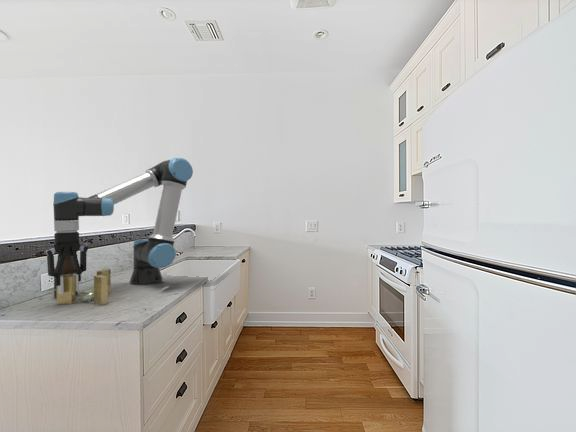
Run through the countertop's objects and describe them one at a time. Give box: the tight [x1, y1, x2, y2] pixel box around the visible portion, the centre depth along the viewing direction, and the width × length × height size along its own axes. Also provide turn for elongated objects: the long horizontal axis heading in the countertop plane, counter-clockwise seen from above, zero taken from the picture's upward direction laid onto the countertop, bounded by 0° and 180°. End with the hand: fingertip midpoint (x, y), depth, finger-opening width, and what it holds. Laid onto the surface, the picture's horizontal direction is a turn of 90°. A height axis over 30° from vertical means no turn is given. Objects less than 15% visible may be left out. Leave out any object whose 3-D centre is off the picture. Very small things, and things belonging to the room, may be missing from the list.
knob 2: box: [96, 268, 112, 295], centre depth 120 cm, size 6×2×10 cm, turn 179°
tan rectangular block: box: [56, 275, 77, 305], centre depth 109 cm, size 6×2×10 cm, turn 92°
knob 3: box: [93, 274, 109, 306], centre depth 109 cm, size 6×2×10 cm, turn 59°
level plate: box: [80, 288, 94, 304], centre depth 113 cm, size 21×21×5 cm
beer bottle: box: [53, 256, 79, 300], centre depth 118 cm, size 8×8×24 cm
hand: (68, 291), depth 109 cm, fingers open, 4 cm apart
